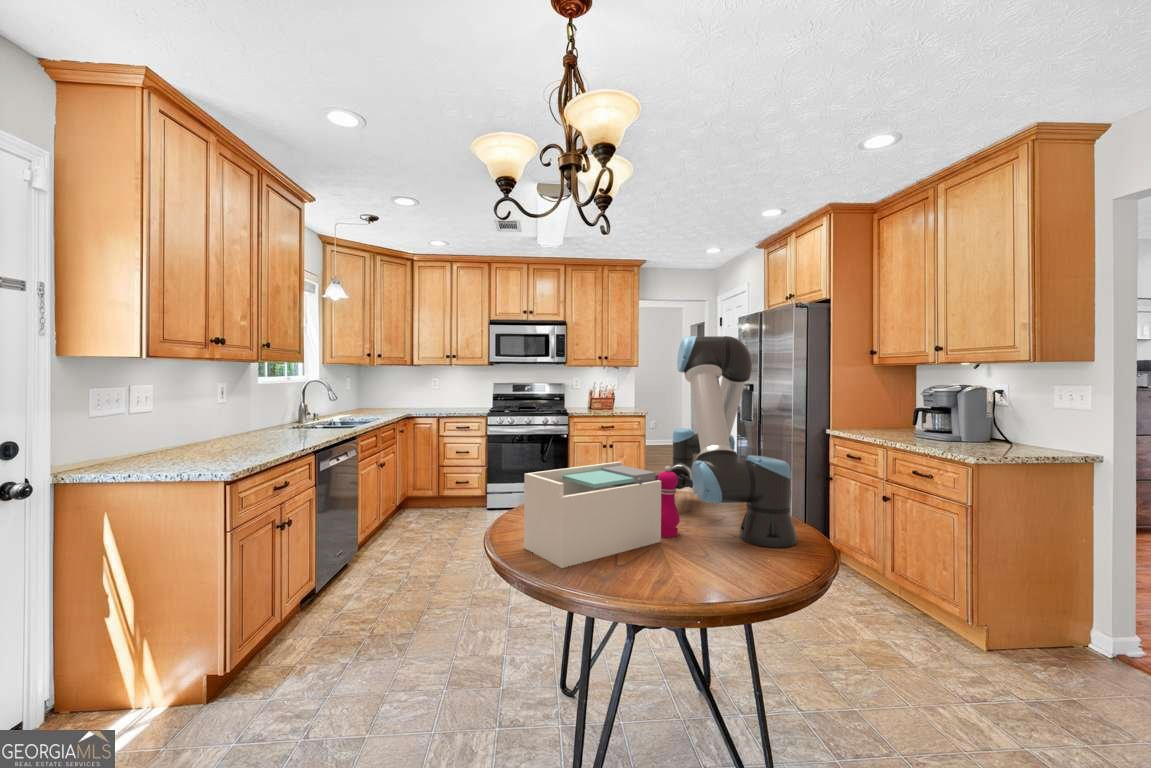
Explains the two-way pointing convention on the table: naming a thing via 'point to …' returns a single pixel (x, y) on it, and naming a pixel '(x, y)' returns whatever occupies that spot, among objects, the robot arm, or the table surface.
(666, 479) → the pepper mill
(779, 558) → the table surface
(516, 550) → the table surface
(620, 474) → the trapdoor
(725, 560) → the table surface
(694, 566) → the table surface
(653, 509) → the frame
